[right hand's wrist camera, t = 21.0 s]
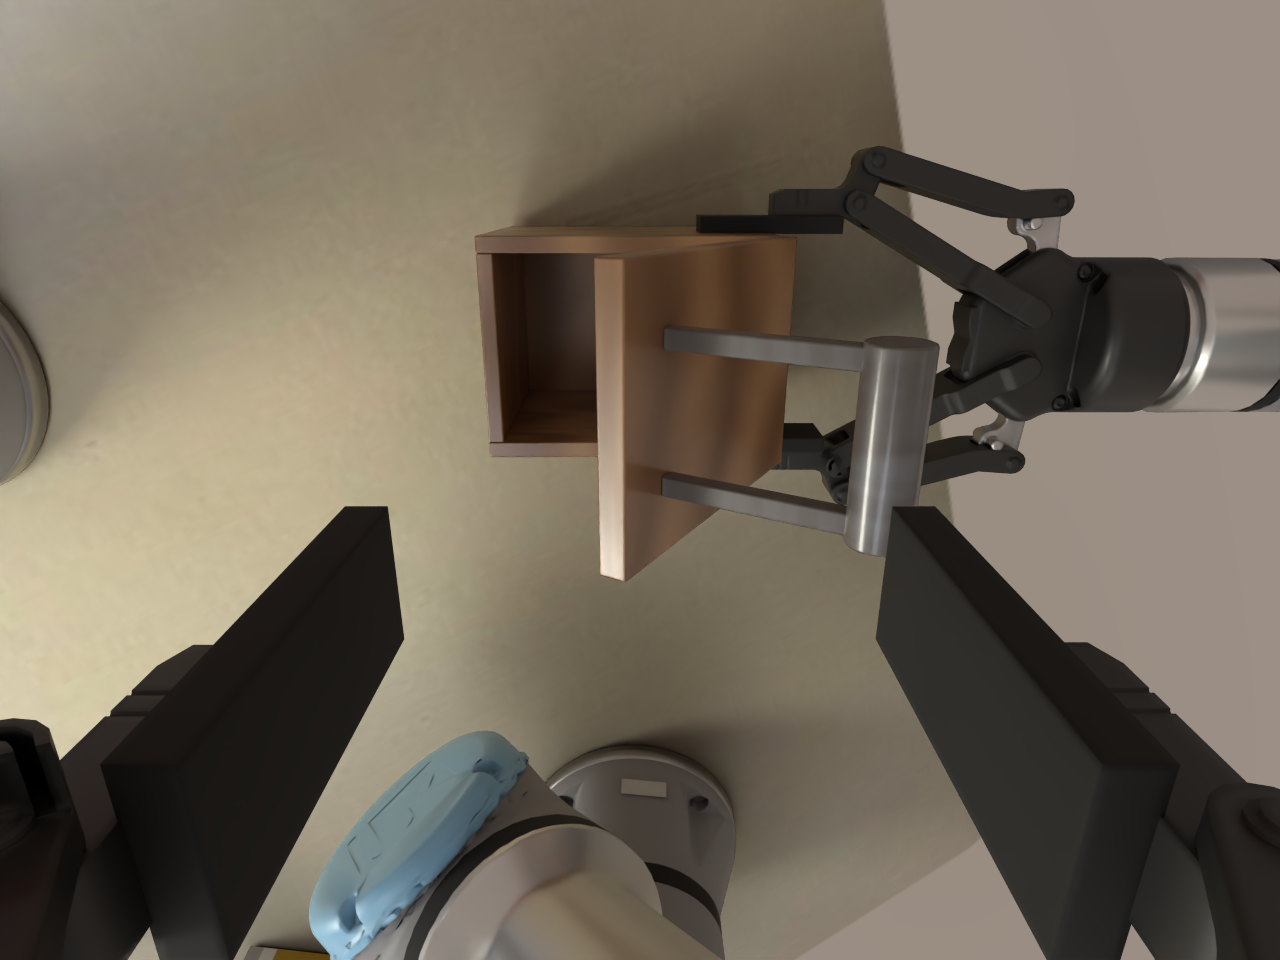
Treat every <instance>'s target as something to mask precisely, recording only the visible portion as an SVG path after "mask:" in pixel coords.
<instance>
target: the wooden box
mask: <svg viewBox="0 0 1280 960" xmlns="http://www.w3.org/2000/svg"><path fill="white" fill-rule="evenodd" d="M776 236H777V237H783V236H780V235H776V234H772V233H699V232H698V231H696V227H634V226H511V227H507V228H503V229H500V230H496V231H492V232H488V233H484V234H480V235H477V236H475V247H476V253H477V254H476V260H477V274H478V289H479V303H480V317H481V332H482V346H483V360H484V374H485V389H486V403H487V417H488V432H489V441H490V443H489V448H490V457H598V439H597V384H596V329H595V273H594V259H595V257H597V256H604V255H613V254H622V253H631V252H640V251H649V250H658V249H667V248H676V247H685V246H694V245H703V244H712V243H721V242H730V241H740V240H749V239H758V238H767V237H776Z"/></svg>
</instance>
